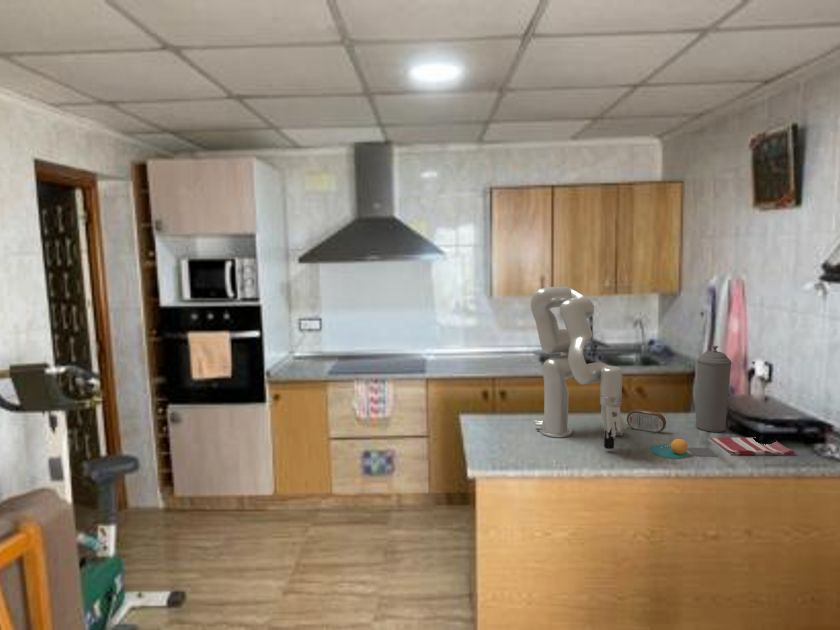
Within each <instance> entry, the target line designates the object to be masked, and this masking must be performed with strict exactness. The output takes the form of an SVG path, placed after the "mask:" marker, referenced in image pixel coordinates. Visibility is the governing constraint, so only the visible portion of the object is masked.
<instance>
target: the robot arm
mask: <svg viewBox="0 0 840 630" xmlns="http://www.w3.org/2000/svg"><path fill="white" fill-rule="evenodd" d="M594 306H595V305H594V303H593V301H591V299H590V298H589V297H587V296H586V295H584V294H582V293H580V292H579V291H576V290H575V289H573V288H571V287H570V286H564V285H562V286H549V287H548V286H547V287H542V288H539V289H537V290H536V291H535V292H534V293H533V295H532V296H531V299H530V311H531V312H532V315H533V319H534V321H535V325H536V329H537V334H538V339H539V344H540V348H541V350H542V352H543V353H544V354H547V355H555V354H560V355H558V356H552V357H550V358H548V359H546V360H545V361H544V362H543V364H542V367H541V368H542V369H541V371H542V372H541V373H542V376H543V383H544V389H543V390H544V393H543V394H544V396H543V397H544V398H543V400H544V403H543V404H544V405H543V406H544V407H543V408H544V411H543V419H542V420H539V419H534V420H533V424H534V425H535V427H540V428H539V431H540V433H541V434H542V435H544V436H546V437H549V438H567V437H570V436H571V435H572V432H573V431H572V429H571V428H569V427H568V426H569V388H568V385H567V383H566V380H568V379H571V378H574V379H575V381H576V382H577V383H578V384H579V385H582V386H586V385H592V384H595V383H597V384H598V383H600V386H599V405H601V408H600V409H601V410H600V425H601V427H602V428H603V433H604V434H603V436H604V439H603V440H604V441H603V447H604V448H605V449H607V450H610V449H611V450H613V449H615V438H616V437H617V436H616V434H615V429H616V431H617V432H618V433H620V432H621V417H622V416H621V415H622V414H621V405H622V397H623V396H622V394H623V393H622V391H623V390H622V389H623V370H622V368H621V367H618V366H614V365H608V364H606V363H604V362H600V361H595V362H591V363H587V362H586V360H585V357H584V348H585V346H586V344H587V342H588V341H589V340H590V339H591V338H592V337H593V332H592V330H591V326H590V325H589V321H588V319H589V318H591V317H593V315H594V313H595V307H594ZM553 308H555V309H557V308H559V310H560V314H561V318H562V320H563V323H564V326H565V328H562V329H560V327H559V324H558V320H557V318H556V315H555V314H554V313H553V312H552V310H551V309H553Z"/></svg>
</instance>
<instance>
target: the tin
mask: <svg viewBox="0 0 840 630" xmlns="http://www.w3.org/2000/svg"><path fill="white" fill-rule="evenodd" d="M626 421H627V422H626V423H627V425H628V426H629V427H630V428H631V429H633V430H634V431H635V430H636V431H642V432H648V433H655V434H659V433H662V431H664V429H665V428H666V426H667V420H666V417H665V416H664V415H663V414H662V413H660V412H657V411H652V410H645V409H640V408H639V409H636V408H635V409H631V410H630V411H629V412H628V414H627V417H626Z"/></svg>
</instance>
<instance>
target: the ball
mask: <svg viewBox="0 0 840 630" xmlns="http://www.w3.org/2000/svg"><path fill="white" fill-rule="evenodd" d="M670 446H671V449H672V451H673V452H674V453H676V454H684V453H685V452H686V451H687V452H688V449H687V448H689V446H688V444H687V442H686V441H685V440H684V439H682V438H675V439H673V440H672V441H671V443H670Z"/></svg>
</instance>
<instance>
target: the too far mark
mask: <svg viewBox="0 0 840 630" xmlns="http://www.w3.org/2000/svg"><path fill="white" fill-rule="evenodd" d="M687 451H689V452H690V453H691V454H693V455H694V456H695V457H719V455H718V454H717V453H715V452H714V451H713V450H712V449H710V448H709V447H688V448H687Z"/></svg>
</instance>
